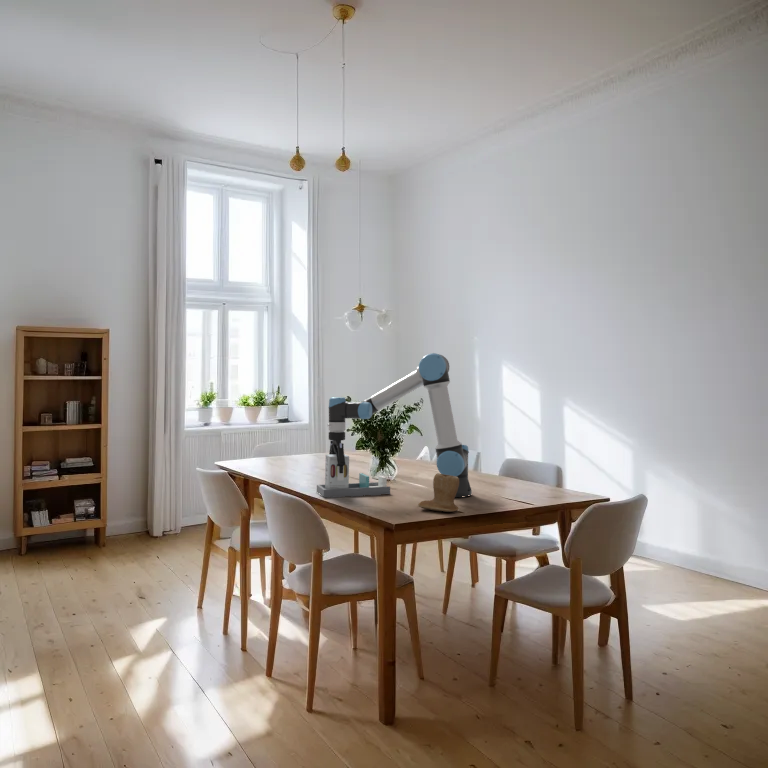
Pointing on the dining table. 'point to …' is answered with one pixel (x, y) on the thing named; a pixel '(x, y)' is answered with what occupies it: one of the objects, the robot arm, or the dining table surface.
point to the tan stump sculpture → (442, 494)
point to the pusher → (365, 481)
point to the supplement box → (335, 473)
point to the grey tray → (353, 490)
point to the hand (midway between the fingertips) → (336, 478)
